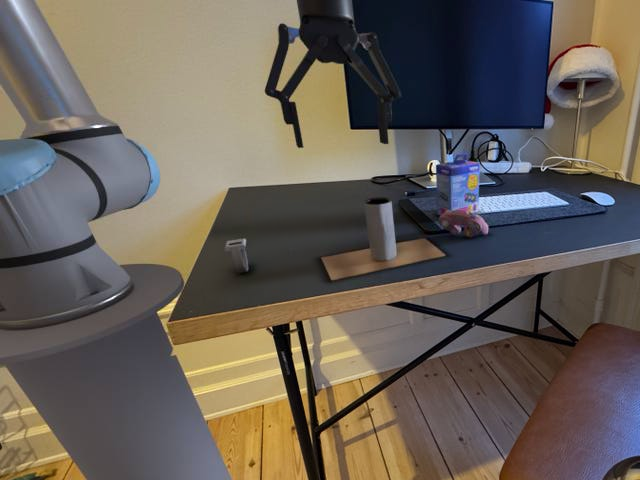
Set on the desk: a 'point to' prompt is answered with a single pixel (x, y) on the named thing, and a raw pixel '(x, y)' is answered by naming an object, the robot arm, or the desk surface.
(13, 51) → the robot arm
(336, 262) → the cork mat
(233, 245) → the wristwatch
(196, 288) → the desk surface
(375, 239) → the planter
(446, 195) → the ink cartridge box
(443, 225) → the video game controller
